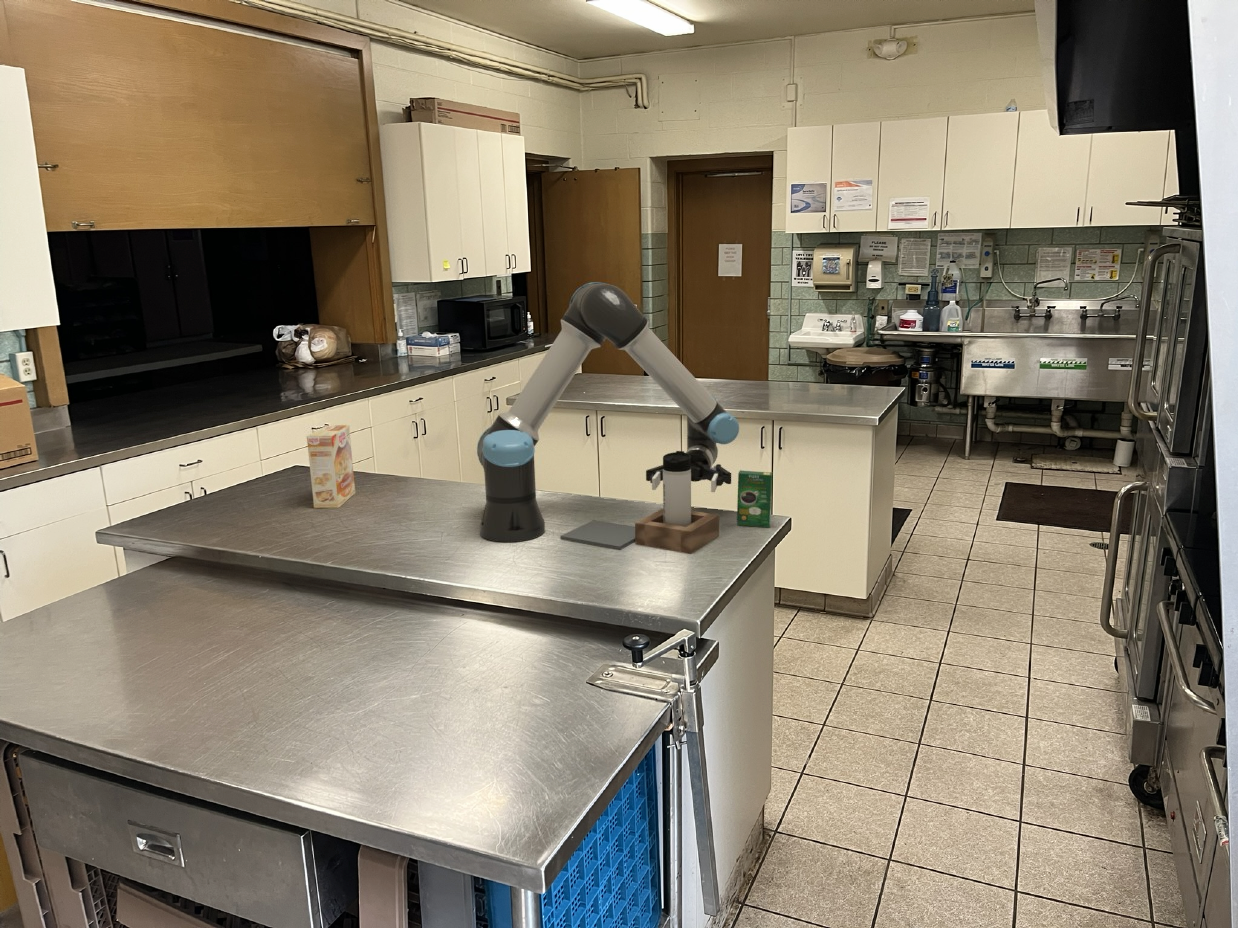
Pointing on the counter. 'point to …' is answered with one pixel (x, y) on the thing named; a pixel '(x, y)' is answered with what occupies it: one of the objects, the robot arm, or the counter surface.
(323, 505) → the coffeecake box
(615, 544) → the mat
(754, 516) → the coffee box
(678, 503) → the travel mug
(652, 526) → the holder
